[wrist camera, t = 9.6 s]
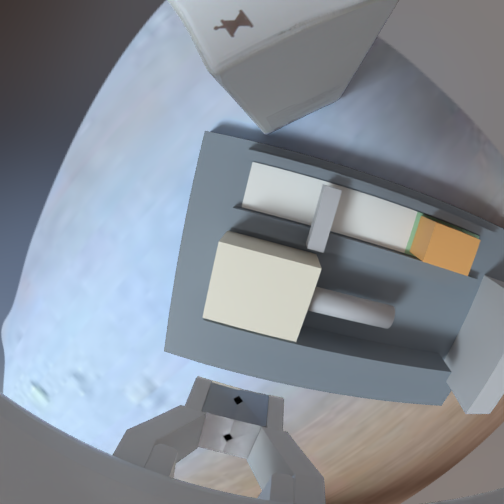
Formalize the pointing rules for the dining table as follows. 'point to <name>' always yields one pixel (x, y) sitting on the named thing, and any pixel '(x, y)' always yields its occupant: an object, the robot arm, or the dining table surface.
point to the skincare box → (283, 50)
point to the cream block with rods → (282, 282)
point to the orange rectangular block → (444, 246)
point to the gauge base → (343, 282)
